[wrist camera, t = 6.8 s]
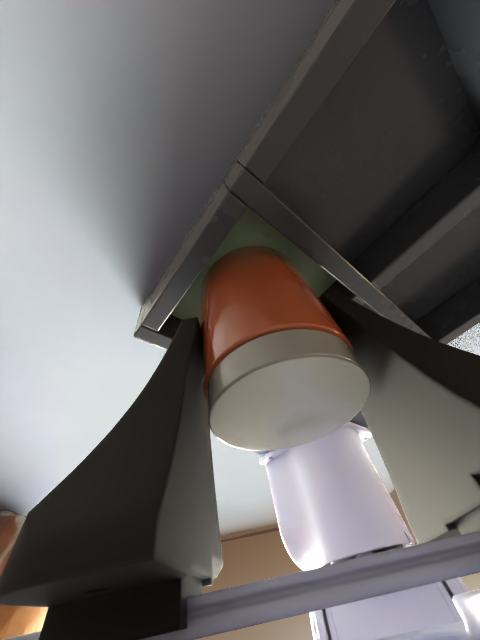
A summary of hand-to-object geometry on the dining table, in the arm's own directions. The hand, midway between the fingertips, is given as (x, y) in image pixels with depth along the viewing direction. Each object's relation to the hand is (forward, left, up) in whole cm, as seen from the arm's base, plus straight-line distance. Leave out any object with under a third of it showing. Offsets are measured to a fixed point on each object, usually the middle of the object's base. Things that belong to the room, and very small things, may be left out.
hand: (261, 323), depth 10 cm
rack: (+4, -4, -3) cm, 6 cm away
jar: (0, 0, -2) cm, 2 cm away
